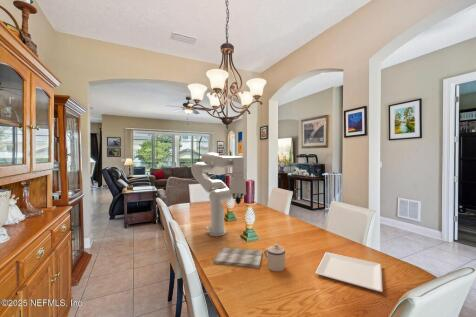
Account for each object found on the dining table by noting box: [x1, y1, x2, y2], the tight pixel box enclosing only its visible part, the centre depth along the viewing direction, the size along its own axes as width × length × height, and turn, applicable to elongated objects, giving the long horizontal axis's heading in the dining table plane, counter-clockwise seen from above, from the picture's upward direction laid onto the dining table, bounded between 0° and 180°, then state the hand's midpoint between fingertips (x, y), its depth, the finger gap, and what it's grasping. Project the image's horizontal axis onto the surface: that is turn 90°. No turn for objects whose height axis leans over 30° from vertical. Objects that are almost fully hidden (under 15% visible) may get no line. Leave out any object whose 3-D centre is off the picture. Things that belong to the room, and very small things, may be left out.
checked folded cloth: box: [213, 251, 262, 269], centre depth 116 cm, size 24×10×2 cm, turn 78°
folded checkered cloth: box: [219, 246, 263, 259], centre depth 124 cm, size 24×6×2 cm, turn 78°
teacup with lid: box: [263, 243, 286, 272], centre depth 110 cm, size 12×9×12 cm
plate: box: [315, 251, 383, 293], centre depth 105 cm, size 26×26×2 cm
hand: (238, 203), depth 141 cm, fingers closed
